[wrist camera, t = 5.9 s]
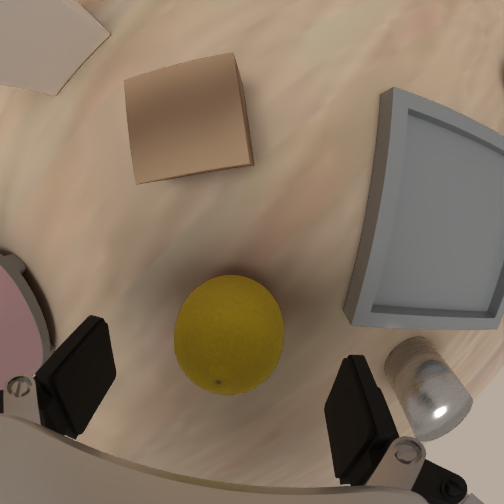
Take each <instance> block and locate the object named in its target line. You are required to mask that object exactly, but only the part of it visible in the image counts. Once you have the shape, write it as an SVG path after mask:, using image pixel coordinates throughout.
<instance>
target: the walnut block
mask: <svg viewBox="0 0 504 504" xmlns="http://www.w3.org/2000/svg"><path fill="white" fill-rule="evenodd" d="M124 87H125V100H126V112H127V122H128V131H129V140H130V148H131V155H132V162H133V169H134V176H135V182H136V185H137V184H143V183H149V182H155V181H161V180H168V179H174V178H179V177H184V176H189V175H195V174H201V173H206V172H212V171H218V170H224V169H231V168H238V167H244V166H252V165H254V159H253V152H252V145H251V138H250V131H249V124H248V118H247V111H246V104H245V97H244V91H243V84H242V80H241V77H240V74H239V70H238V67H237V63H236V60H235V57H234V53H227V54H221V55H216V56H211V57H206V58H201V59H197V60H192V61H188V62H184V63H180V64H176V65H172V66H168V67H165V68H161V69H158V70H154V71H151V72H148V73H144V74H141V75H138V76H135V77H132V78H129V79H127V80H124Z"/></svg>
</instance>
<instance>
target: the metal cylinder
mask: <svg viewBox="0 0 504 504" xmlns="http://www.w3.org/2000/svg"><path fill="white" fill-rule="evenodd" d="M384 369H385V374H386V376H387V378H388V380H389V382H390V384H391V386H392V388H393V390H394V392H395V394H396V396H397V398H398V400H399V402H400V404H401V406H402V408H403V411H404V413H405V415H406V417H407V419H408V421H409V424H410V426H411V428H412V430H413V432H414V435H415V437H416V439H417V440H419V441H431V440H434V439H437V438H439V437H441V436H443V435H445V434H447V433H448V432H450V431H451V430H453V429H454V428H455V427H456V426H457V425H458V424H460V423H461V422H462V421H463V419H464V418H465V417H466V416H467V414H468V413H469V411H470V409H471V407H472V403H473V399H472V397H471V396H470V394H469V393H468V391H467V390H466V389H465V387H464V386H463V384H462V383H461V382H460V380H459V379H458V378H457V376H456V375H455V374H454V372H453V371H452V370H451V368H450V367H449V366H448V364H447V363H446V362H445V360H444V359H443V358H442V357H441V355H440V354H439V353H438V351H437V350H436V349H435V348H434V346H433V345H432V344H431V343H430V341H429V340H427V339H426V338H423V337H413V338H410V339H407V340H405V341H403V342H402V343H400V344H399V345H398V346H397V347H395V348H394V349H393V351H392V352H391V353H390V354H389V356H388V358H387V360H386V362H385V368H384Z"/></svg>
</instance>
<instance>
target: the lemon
mask: <svg viewBox="0 0 504 504" xmlns="http://www.w3.org/2000/svg"><path fill="white" fill-rule="evenodd" d="M283 345H284V321H283V317H282V314H281V310H280V307H279V305H278V304H277V302H276V300H275V299H274V297H273V296H272V294H271V293H270V292H269V291H268V290H267V289H266V288H265V287H264V286H263V285H261V284H260V283H258V282H256V281H254V280H252V279H250V278H247V277H243V276H240V275H224V276H218V277H215V278H212V279H210V280H208V281H206V282H204V283H202V284H201V285H200V286H198V287H197V288H196V289H195V290H194V291H192V292H191V293H190V295H189V296H188V297H187V299H186V301H185V302H184V304H183V305H182V307H181V309H180V311H179V314H178V317H177V321H176V324H175V329H174V349H175V354H176V357H177V360H178V363H179V365H180V367H181V368H182V370H183V371H184V373H185V374H186V376H187V377H188V378H189V379H191V380H192V381H193V382H194V383H195V384H196V385H198V386H199V387H201V388H203V389H204V390H207V391H210V392H212V393H217V394H222V395H235V394H240V393H244V392H247V391H249V390H252V389H254V388H256V387H257V386H259V385H260V384H261V383H263V382H264V381H265V380H266V379H267V378H268V377H269V375H270V374H271V373H272V371H273V370H274V369H275V367H276V365H277V363H278V360H279V358H280V355H281V352H282V349H283Z"/></svg>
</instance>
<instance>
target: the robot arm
mask: <svg viewBox="0 0 504 504" xmlns="http://www.w3.org/2000/svg"><path fill="white" fill-rule="evenodd" d="M35 374H36V376H35V377H34V378H32V377H31V376H30V375H28V374H24V373H18V374H14V375H12V376H10V377H9V378H8V379H7V380H6V382H5V383H4V388H3V390H0V504H484V503H483V502H482V501H480V500H479V499H478V498H477V497H476V496H475V495H473V494H472V493H471V494H470V495H468V494H467V485H466V482H465V480H464V479H463V478H462V477H460V476H459V475H457V474H455V473H453V472H451V471H449V470H446V469H444V468H442V467H440V466H438V465H436V464H434V463H432V462H430V461H428V460H426V459H425V457H426V451H425V448H424V446H423V445H422V443H421V442H420V441H418V440H417V439H415V438H412V437H405V436H404V437H399V435H398V432H397V429H396V427H395V424H394V421H393V419H392V416H391V414H390V411H389V408H388V406H387V403H386V401H385V398H384V396H383V393H382V391H381V389H380V388H379V387H377V385H376V383H375V380H374V378H373V375H372V373H371V371H370V368H369V366H368V363H367V361H366V359H365V357H364V356H363V355H349V356H348V358H344V359H343V361H342V364H341V366H340V369H339V371H338V374H337V377H336V379H335V382H334V384H333V387H332V389H331V391H330V394H329V396H328V399H327V401H326V403H325V408H324V412H325V418H326V423H327V429H328V435H329V441H330V447H331V453H332V459H333V466H334V472H335V477H336V478H339V479H340V485H342V484H351V486H341V487H320V488H286V487H263V486H250V485H240V484H231V483H224V482H217V481H210V480H204V479H198V478H193V477H188V476H183V475H179V474H174V473H170V472H166V471H162V470H158V469H154V468H150V467H147V466H143V465H140V464H137V463H133V462H130V461H127V460H124V459H121V458H118V457H115V456H112V455H110V454H107V453H104V452H101V451H99V450H96V449H94V448H91V447H89V446H86V445H84V444H82V443H79V442H77V441H74V440H72V439H70V438H68V437H65V436H64V435H67V436H69V437H71V438H73V439H75V440H76V438H77V436H78V435H79V434H82V433H83V432H84V430H85V429H86V427H87V425H88V423H89V422H90V420H91V418H92V416H93V415H94V413H95V411H96V410H97V408H98V406H99V405H100V403H101V401H102V399H103V398H104V396H105V395H106V393H107V391H108V390H109V388H110V386H111V385H112V383H113V381H114V380H115V377H116V368H115V363H114V358H113V353H112V347H111V341H110V335H109V329H108V324H107V323H106V322H105V320H104V319H103V318H100V317H96V316H93V315H90V316H89V317H88V318H87V319H86V320H85V321H84V322H83V323H82V324H81V325H80V326H79V327H78V328H77V329H76V330H75V331H74V332H73V333H72V334H71V335H70V336H69V337H68V338H67V339H66V340H65V341H64V342H63V343H62V345H61V346H60V347H59V348H58V349H57V350H56V351H55V352H54V353H53V354H52V355H51V356H50V357H49V359H48V360H47V361H46V362H45V363H44V364H43V365H42V366H41V367H40V369H39V370H38V371H37V372H36V373H35Z"/></svg>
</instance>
